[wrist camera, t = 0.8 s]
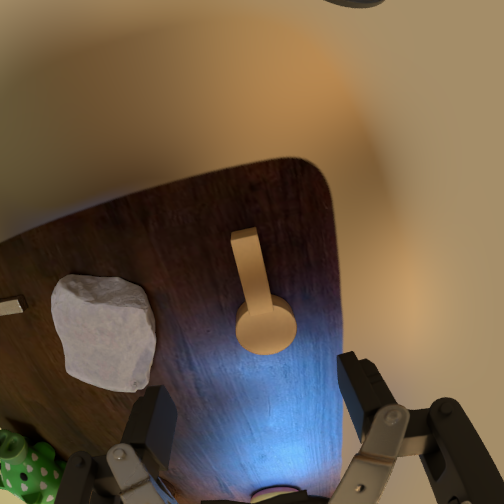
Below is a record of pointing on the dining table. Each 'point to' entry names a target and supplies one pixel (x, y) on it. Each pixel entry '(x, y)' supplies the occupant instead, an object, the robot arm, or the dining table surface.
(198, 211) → the dining table surface
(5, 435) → the piggy bank
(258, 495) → the donut
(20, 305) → the fork
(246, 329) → the wooden round paddle
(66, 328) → the stone block
